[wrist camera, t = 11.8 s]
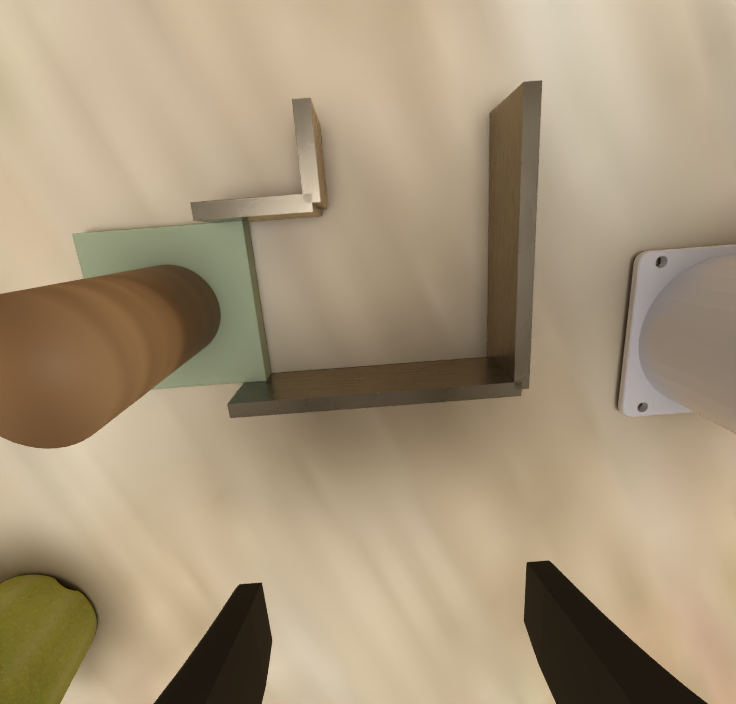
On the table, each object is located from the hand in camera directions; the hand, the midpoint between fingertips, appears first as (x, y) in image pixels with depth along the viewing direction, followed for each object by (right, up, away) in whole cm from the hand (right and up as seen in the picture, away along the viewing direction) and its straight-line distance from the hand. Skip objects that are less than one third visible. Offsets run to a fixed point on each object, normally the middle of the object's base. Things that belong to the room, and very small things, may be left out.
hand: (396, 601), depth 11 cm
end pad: (-9, +9, +8) cm, 15 cm away
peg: (-9, +9, +7) cm, 14 cm away
